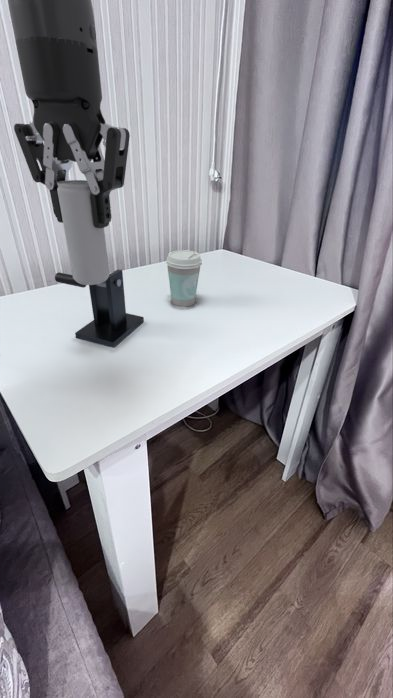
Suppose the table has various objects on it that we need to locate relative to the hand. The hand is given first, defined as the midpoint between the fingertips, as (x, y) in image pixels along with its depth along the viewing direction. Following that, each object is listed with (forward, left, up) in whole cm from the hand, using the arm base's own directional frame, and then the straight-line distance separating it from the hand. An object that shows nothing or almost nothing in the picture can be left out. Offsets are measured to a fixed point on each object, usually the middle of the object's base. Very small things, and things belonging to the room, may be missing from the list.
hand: (83, 223), depth 41 cm
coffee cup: (+30, +19, -26) cm, 44 cm away
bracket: (+9, +16, -26) cm, 32 cm away
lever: (+5, +14, -14) cm, 20 cm away
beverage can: (0, 0, -8) cm, 8 cm away
